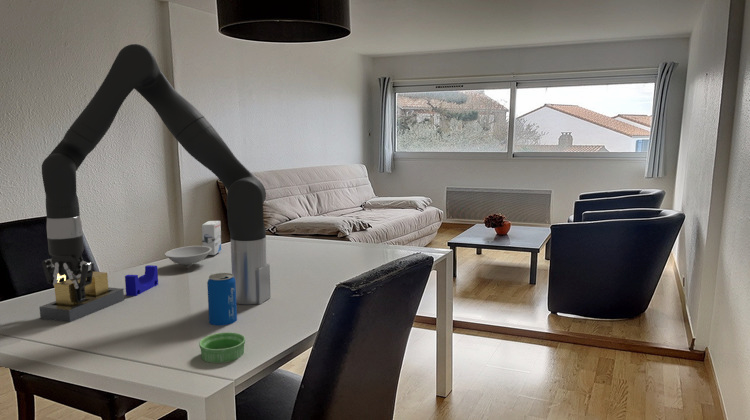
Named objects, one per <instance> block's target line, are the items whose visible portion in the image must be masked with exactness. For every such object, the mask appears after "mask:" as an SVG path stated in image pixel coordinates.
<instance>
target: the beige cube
mask: <svg viewBox="0 0 750 420" xmlns="http://www.w3.org/2000/svg"><path fill="white" fill-rule="evenodd" d="M86 280H87V278H86ZM108 287H109V279H108V272H103V271H93V275H92V283H91V284H89V285H86V286H85V296H88V297H98V296H101V295H103V294H106V293H109V289H108Z"/></svg>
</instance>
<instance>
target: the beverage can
mask: <svg viewBox="0 0 750 420" xmlns="http://www.w3.org/2000/svg"><path fill="white" fill-rule="evenodd" d="M206 284H207V285H206V286H207V303H208V320H209V321H208V323H209V324H210V325H212V326H218V327H219V326H227V325H231V324H234V323H236V322H237V321H238V312H237V311H238V310H237V309H238V307H237V303H236V281H235V278H234V277H233V274H232V273H230V272H218V273H214V274H213V273H212V274H211V275H209V276H208V280H207V282H206Z"/></svg>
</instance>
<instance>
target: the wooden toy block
mask: <svg viewBox="0 0 750 420" xmlns="http://www.w3.org/2000/svg"><path fill="white" fill-rule="evenodd" d="M77 280H78V283H80V282H79V279H77ZM53 287H54V294H55V296H54V297H55V301H56V305H57V306H65V307H73V306H75V305H78V304H80V303H83V302H85V300H84V301H83V302H80V303H76V302H75V291H74V289H75V287H74V285H73V282H72V281H71V280H70V279H69V278H68V279H66V280H65V281H62V282H59V283H56V284H54V286H53Z"/></svg>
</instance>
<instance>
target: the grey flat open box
mask: <svg viewBox="0 0 750 420" xmlns="http://www.w3.org/2000/svg"><path fill="white" fill-rule="evenodd" d="M108 289H109V293H106V294H103V295H101V296H98V297H88V296H85V302H83V303H80V304H78V305H75V306H73V307H65V306H57V305H56V300H54V301H51V302H49V303H46V304H43V305H41V306H40V305H39V315H40V316H39V317H40V318H39V319H40V320H44V319H46V320H47V321H53V320H54V322H65V323H71V322H74V321H77V320H79V319H82V318H84V317H87V316H90V315H92V314H94V313H98V312H99V311H101V310H105V309H106V308H109V307H112V306H114V305H117V304H119V303H122V302H123V301H125V295H124V294H125V293H124V292H125V291H124V288H118V287H109V286H108ZM46 320H45V321H46Z"/></svg>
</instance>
